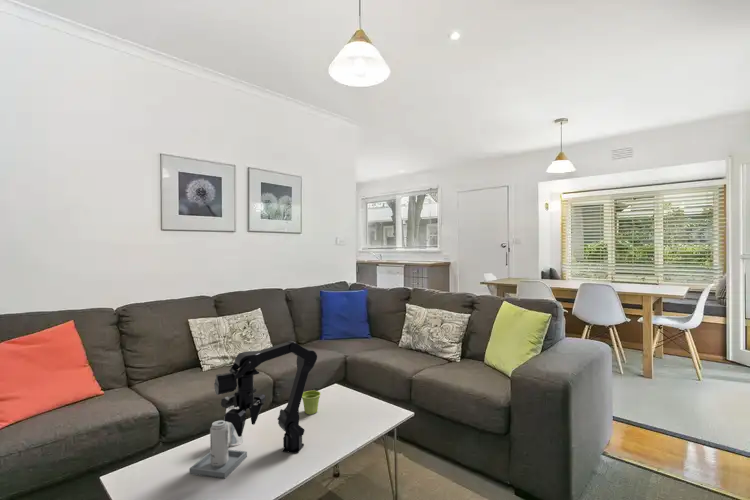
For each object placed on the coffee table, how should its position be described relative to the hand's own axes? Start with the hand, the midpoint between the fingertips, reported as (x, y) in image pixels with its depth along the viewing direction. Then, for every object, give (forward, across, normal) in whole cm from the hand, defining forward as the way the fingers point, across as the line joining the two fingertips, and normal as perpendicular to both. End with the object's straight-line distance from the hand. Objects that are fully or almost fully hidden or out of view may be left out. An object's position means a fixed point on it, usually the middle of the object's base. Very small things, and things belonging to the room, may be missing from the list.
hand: (246, 430), depth 138 cm
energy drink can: (+12, +2, -10) cm, 16 cm away
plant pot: (+13, -47, +6) cm, 49 cm away
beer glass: (+13, -14, -14) cm, 24 cm away
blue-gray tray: (+13, +2, -10) cm, 16 cm away
